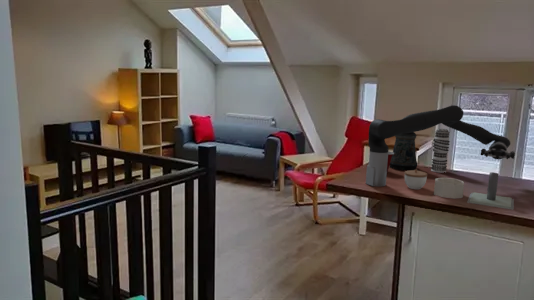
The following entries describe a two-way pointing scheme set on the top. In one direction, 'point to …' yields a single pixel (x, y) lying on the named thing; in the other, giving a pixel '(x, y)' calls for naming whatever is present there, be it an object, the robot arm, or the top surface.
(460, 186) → the bowl
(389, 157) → the plastic cup
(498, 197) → the lid
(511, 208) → the mat
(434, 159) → the decorative candle
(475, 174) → the top surface
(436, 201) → the top surface
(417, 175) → the lidded jar
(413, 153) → the beer stein
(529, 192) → the top surface
